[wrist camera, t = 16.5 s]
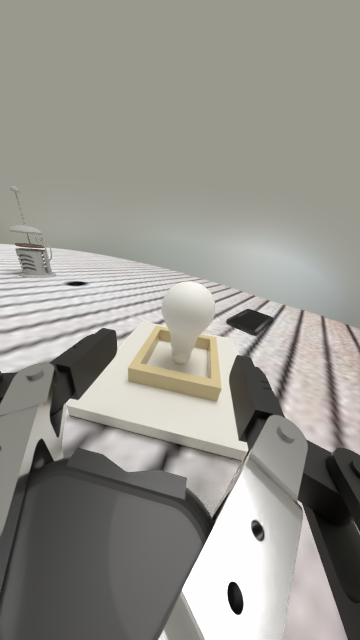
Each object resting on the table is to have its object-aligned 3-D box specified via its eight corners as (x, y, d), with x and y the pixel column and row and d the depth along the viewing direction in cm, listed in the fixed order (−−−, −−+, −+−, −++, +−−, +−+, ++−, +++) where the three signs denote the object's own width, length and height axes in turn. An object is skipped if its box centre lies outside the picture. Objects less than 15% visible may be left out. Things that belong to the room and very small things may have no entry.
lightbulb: (208, 377, 19) (232, 292, 14) (159, 380, 18) (167, 288, 13) (194, 347, 24) (208, 278, 20) (156, 348, 23) (161, 274, 18)
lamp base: (69, 415, 15) (62, 390, 13) (142, 328, 31) (142, 312, 29) (262, 466, 13) (279, 444, 11) (231, 345, 29) (237, 329, 27)
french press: (40, 270, 60) (18, 190, 49) (66, 275, 58) (50, 194, 47) (11, 274, 51) (-24, 177, 40) (41, 280, 50) (14, 181, 39)
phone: (274, 317, 43) (256, 333, 33) (273, 321, 44) (255, 338, 34) (247, 308, 48) (224, 319, 38) (246, 311, 48) (223, 323, 38)
